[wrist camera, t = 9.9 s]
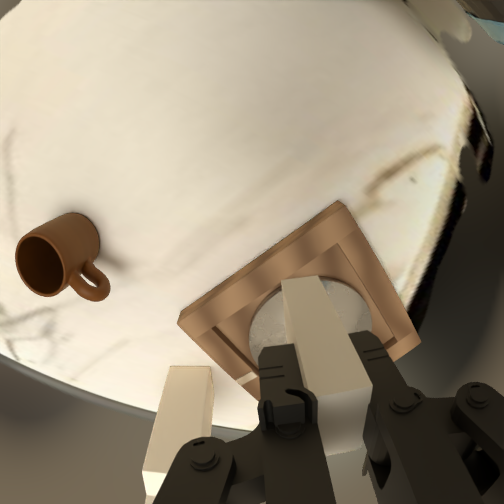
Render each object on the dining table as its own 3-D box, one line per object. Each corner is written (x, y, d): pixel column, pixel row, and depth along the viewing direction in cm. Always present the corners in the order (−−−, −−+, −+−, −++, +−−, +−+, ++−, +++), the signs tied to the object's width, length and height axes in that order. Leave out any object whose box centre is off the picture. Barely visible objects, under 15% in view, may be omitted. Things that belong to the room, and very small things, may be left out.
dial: (222, 334, 40) (218, 376, 32) (319, 250, 36) (339, 279, 29) (302, 394, 44) (310, 435, 36) (389, 328, 40) (413, 363, 33)
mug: (139, 246, 37) (111, 277, 29) (118, 293, 40) (90, 331, 31) (63, 200, 35) (21, 218, 26) (48, 249, 37) (9, 276, 28)
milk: (169, 365, 44) (134, 493, 23) (210, 365, 44) (194, 499, 23) (177, 394, 46) (151, 515, 25) (215, 395, 46) (204, 520, 25)
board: (337, 200, 36) (345, 205, 33) (413, 331, 43) (421, 343, 40) (180, 311, 40) (176, 324, 37) (283, 410, 47) (285, 425, 44)
